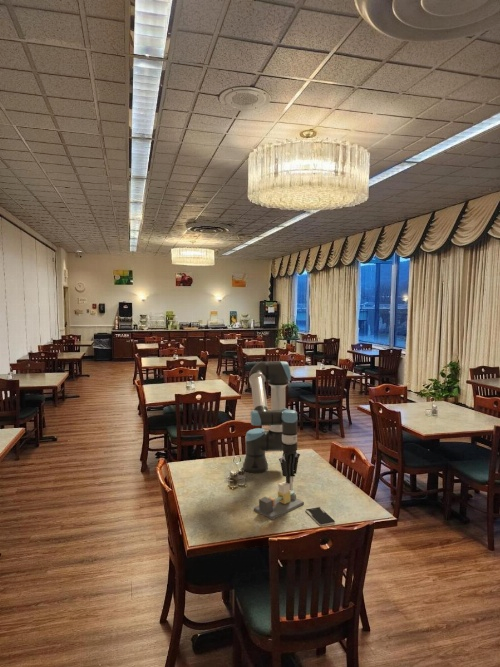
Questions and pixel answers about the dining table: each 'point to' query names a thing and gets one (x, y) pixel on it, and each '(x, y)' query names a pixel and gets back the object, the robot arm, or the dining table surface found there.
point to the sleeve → (284, 492)
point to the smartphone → (320, 516)
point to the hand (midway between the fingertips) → (289, 489)
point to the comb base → (277, 506)
